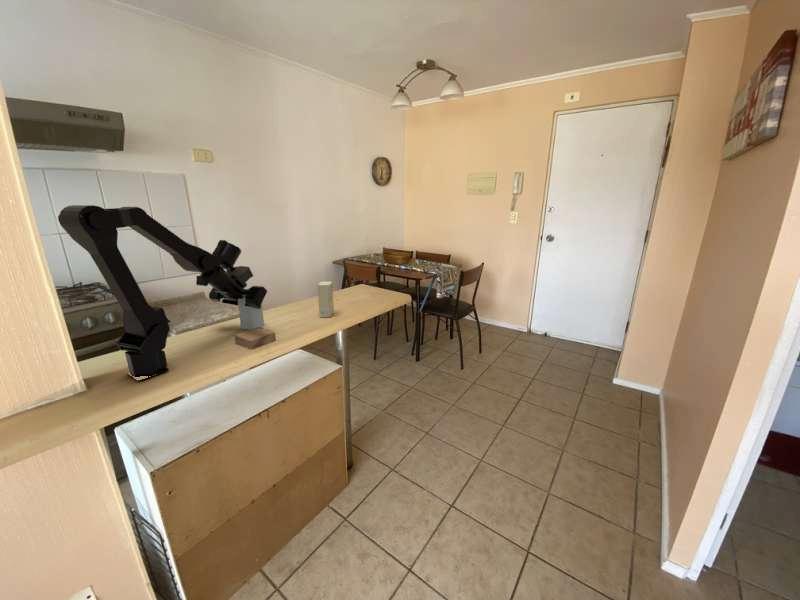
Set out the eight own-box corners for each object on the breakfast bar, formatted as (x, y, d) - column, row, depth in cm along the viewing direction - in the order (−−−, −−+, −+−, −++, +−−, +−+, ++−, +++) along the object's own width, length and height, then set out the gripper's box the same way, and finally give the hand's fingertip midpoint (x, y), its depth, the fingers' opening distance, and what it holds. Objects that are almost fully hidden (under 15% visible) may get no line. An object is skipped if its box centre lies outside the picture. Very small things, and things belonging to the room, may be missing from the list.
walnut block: (251, 350, 94) (250, 341, 93) (235, 344, 98) (234, 335, 97) (275, 341, 100) (275, 332, 99) (259, 336, 104) (258, 327, 103)
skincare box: (331, 317, 120) (329, 285, 117) (318, 317, 120) (316, 285, 117) (334, 312, 126) (332, 281, 123) (322, 312, 126) (320, 281, 123)
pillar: (253, 330, 108) (249, 294, 104) (241, 328, 109) (236, 293, 106) (264, 325, 112) (260, 291, 109) (252, 323, 114) (248, 289, 111)
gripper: (259, 260, 98) (286, 288, 111) (211, 257, 104) (242, 284, 117) (242, 293, 93) (273, 318, 106) (192, 287, 99) (227, 312, 112)
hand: (253, 306), depth 110 cm, fingers closed on pillar, 5 cm apart
